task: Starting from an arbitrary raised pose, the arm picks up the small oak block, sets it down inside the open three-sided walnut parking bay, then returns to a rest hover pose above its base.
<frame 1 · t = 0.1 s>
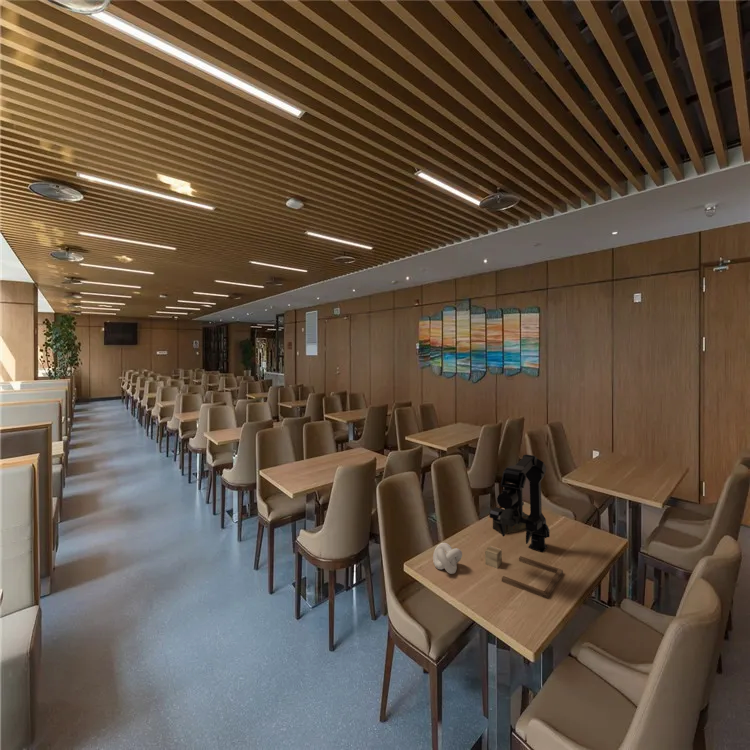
hand: (515, 539, 143), 15 cm above the table, fingers open, 9 cm apart
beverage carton: (512, 529, 185), on the table
oak block: (493, 563, 153), on the table
bay: (530, 576, 143), on the table
white decorative knot: (445, 568, 151), on the table
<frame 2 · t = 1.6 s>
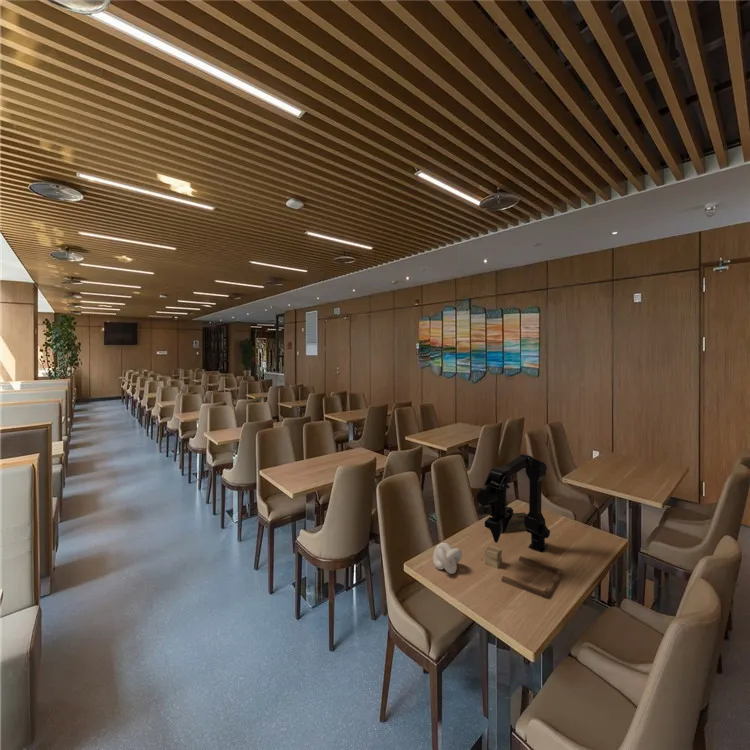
hand: (499, 537, 151), 12 cm above the table, fingers open, 9 cm apart
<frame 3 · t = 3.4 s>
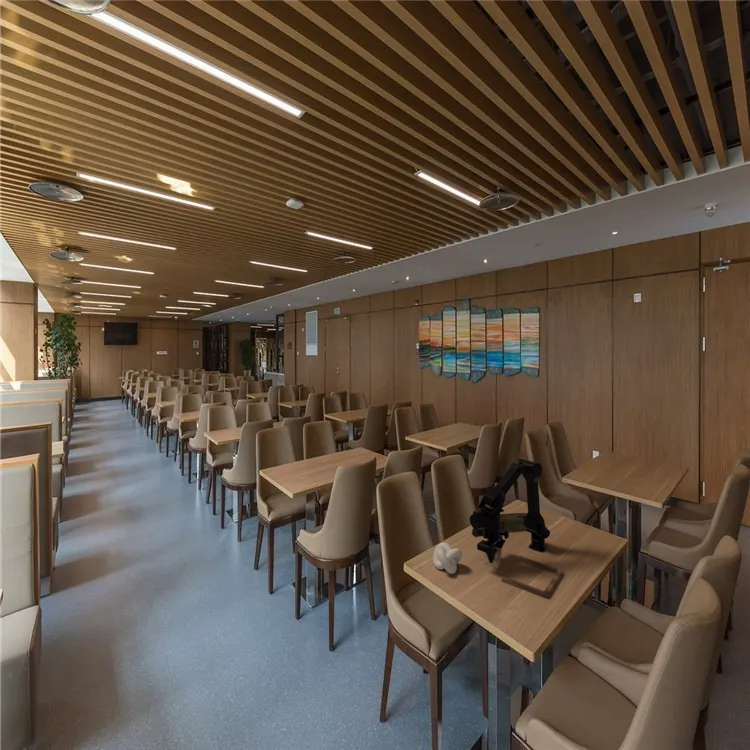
hand: (493, 560, 153), 2 cm above the table, fingers closed on oak block, 5 cm apart
oak block: (493, 563, 153), on the table, touching gripper
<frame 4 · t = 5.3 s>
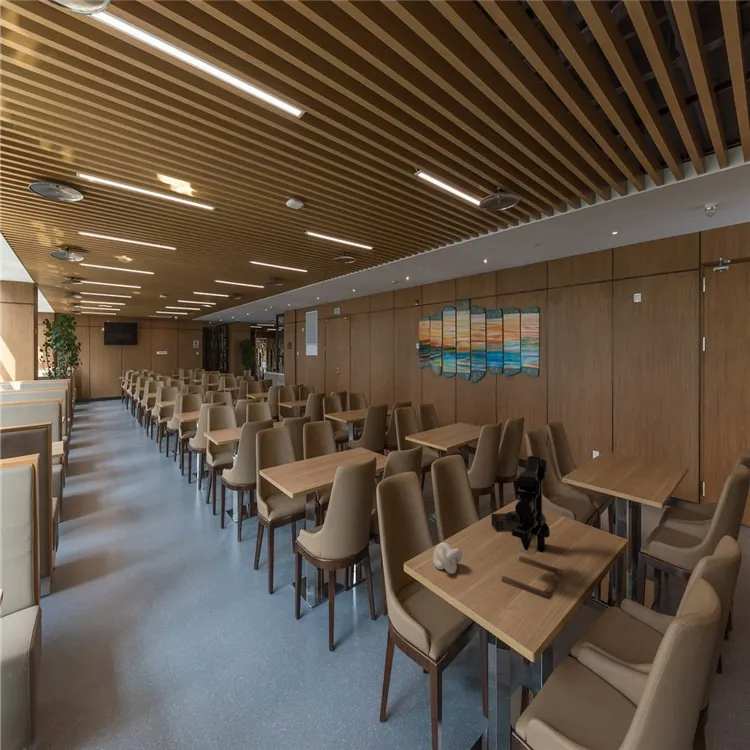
hand: (528, 547, 143), 12 cm above the table, fingers closed on oak block, 5 cm apart
oak block: (528, 551, 143), point 10 cm above the table, touching gripper
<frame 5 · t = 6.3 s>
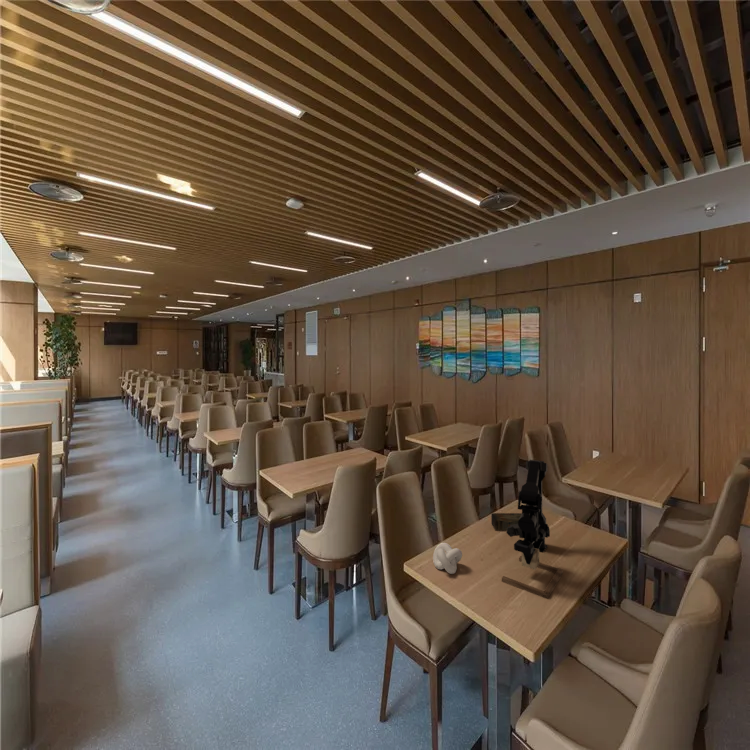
hand: (530, 561, 143), 6 cm above the table, fingers closed on oak block, 5 cm apart
oak block: (530, 564, 143), point 5 cm above the table, touching gripper
when the fingers open (4 cm above the table, at t = 7.1 s): oak block drops 3 cm, on the table.
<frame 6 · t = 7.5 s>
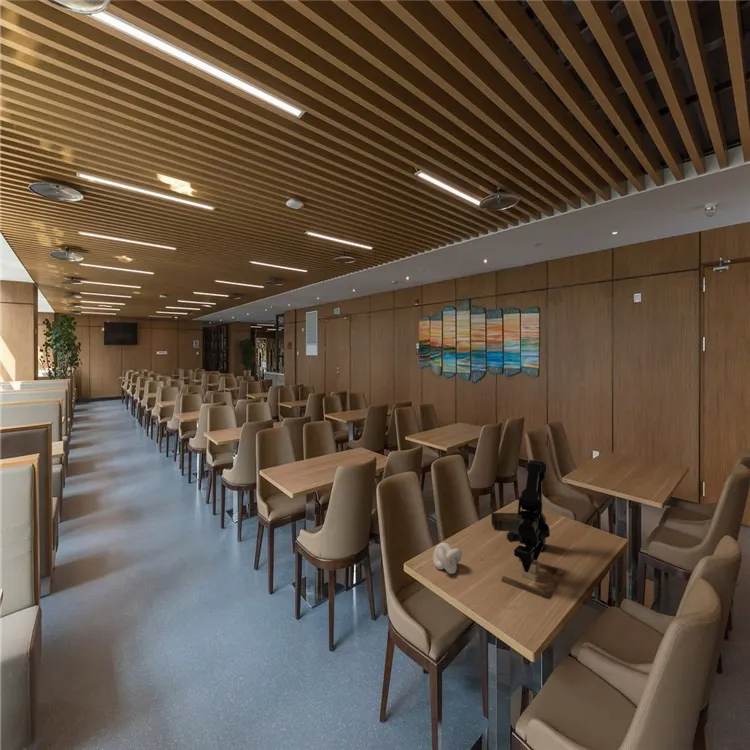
hand: (530, 566, 143), 4 cm above the table, fingers open, 9 cm apart
oak block: (530, 576, 143), on the table
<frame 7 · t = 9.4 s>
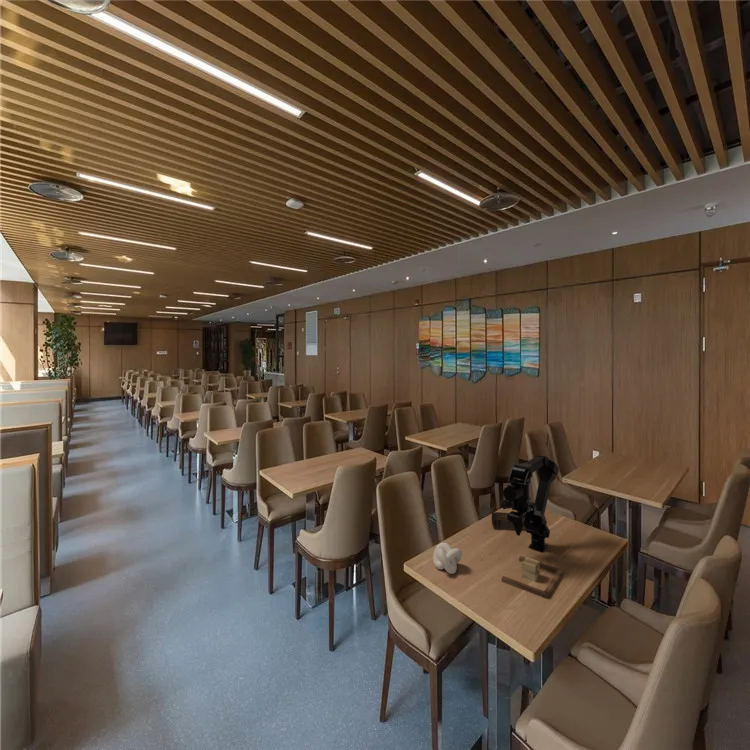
hand: (522, 531, 156), 12 cm above the table, fingers open, 9 cm apart
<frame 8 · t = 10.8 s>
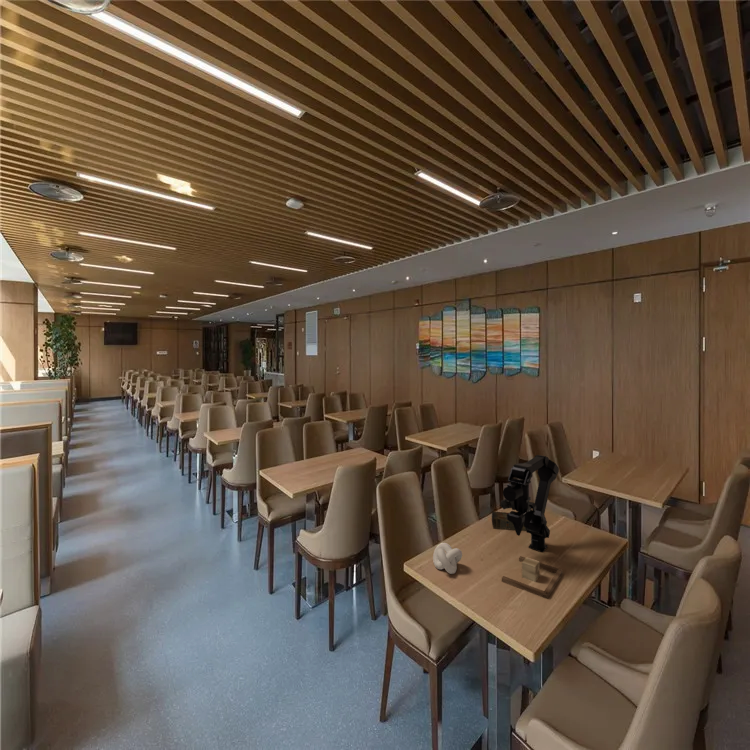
hand: (522, 531, 156), 12 cm above the table, fingers open, 9 cm apart
at the end: oak block inside the target area on the bay (0.2 cm from its centre), point 0.0 cm above the bay's base; oak block moved 15.0 cm from its start; the gripper is holding nothing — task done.
